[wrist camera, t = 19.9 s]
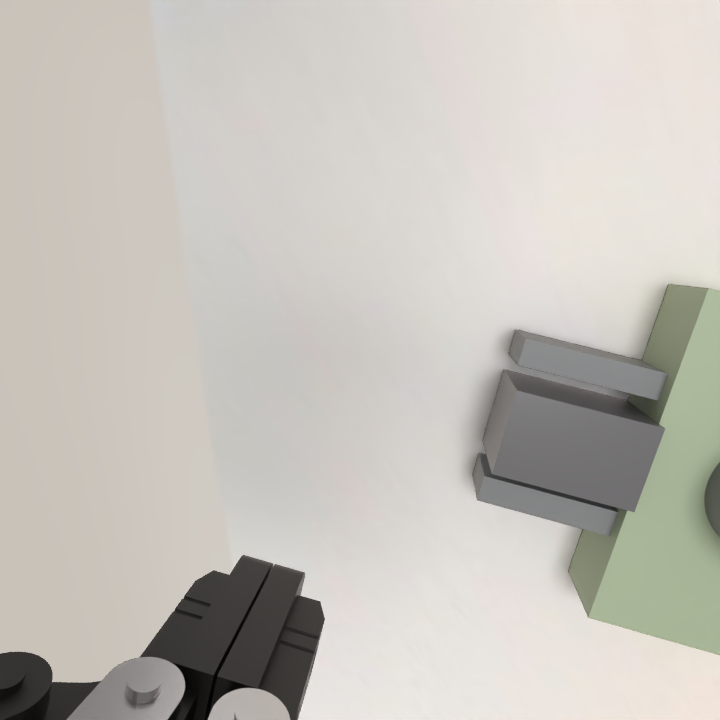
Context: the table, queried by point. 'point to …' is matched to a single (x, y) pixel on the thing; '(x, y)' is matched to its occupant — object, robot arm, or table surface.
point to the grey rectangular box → (570, 440)
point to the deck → (664, 482)
